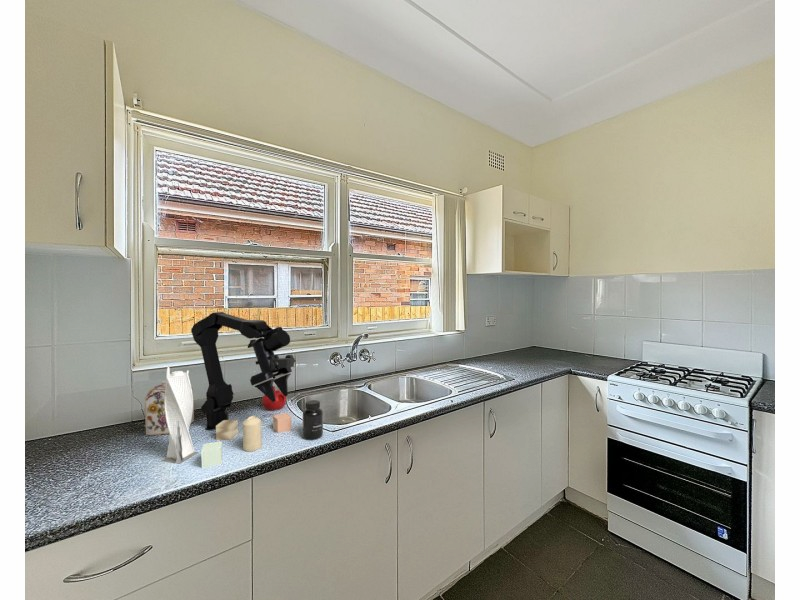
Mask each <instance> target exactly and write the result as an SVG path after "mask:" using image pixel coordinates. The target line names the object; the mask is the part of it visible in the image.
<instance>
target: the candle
mask: <svg viewBox="0 0 800 600" xmlns="http://www.w3.org/2000/svg"><path fill="white" fill-rule="evenodd" d="M262 443H263V442H262V420H261V419H260V418H259V417H257V416H256V415H251V416H249V417H248V418H246V419H245V420H244V421H243V422H242V449H243V451H244V452H255V451H258V450H259V449H261V448H262Z"/></svg>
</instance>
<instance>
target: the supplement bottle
mask: <svg viewBox="0 0 800 600" xmlns="http://www.w3.org/2000/svg"><path fill="white" fill-rule="evenodd" d="M323 434H324V412H323V410H322V409H321V402H320V401H319V400H316V399H313V400H307V401H305V409H304V411H303V412H302V437H303V439H305V440H307V441H314V439H315V440H318V438H319V439H321V438H322V437H323Z"/></svg>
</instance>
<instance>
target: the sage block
mask: <svg viewBox="0 0 800 600" xmlns="http://www.w3.org/2000/svg"><path fill="white" fill-rule="evenodd" d="M200 455H201V468H202V467H205V468H209V467H208V466H210V467H214V466H213V465H216V466H220V464H221V465H222V461H223V440H219V441H215V442H209V443H203V444H202V447H201V453H200Z"/></svg>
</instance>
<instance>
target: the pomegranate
mask: <svg viewBox="0 0 800 600" xmlns="http://www.w3.org/2000/svg"><path fill="white" fill-rule="evenodd" d="M273 389H274V393H275V398H276V401H274V402H272V401H271V400H270V399H269V398H268V397H267V396H266V395H265V394H263V396H262V397H261V404H262V407H263V408H264V409H265V410H266V411H278V410H281V409H282V408H284V407H285V405H286V402H287V396H284V395H283V394H282V392H281V391H280V390H279V389H278V390H276V387H275V385H273Z"/></svg>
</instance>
